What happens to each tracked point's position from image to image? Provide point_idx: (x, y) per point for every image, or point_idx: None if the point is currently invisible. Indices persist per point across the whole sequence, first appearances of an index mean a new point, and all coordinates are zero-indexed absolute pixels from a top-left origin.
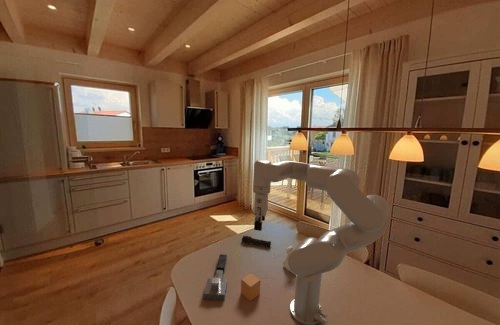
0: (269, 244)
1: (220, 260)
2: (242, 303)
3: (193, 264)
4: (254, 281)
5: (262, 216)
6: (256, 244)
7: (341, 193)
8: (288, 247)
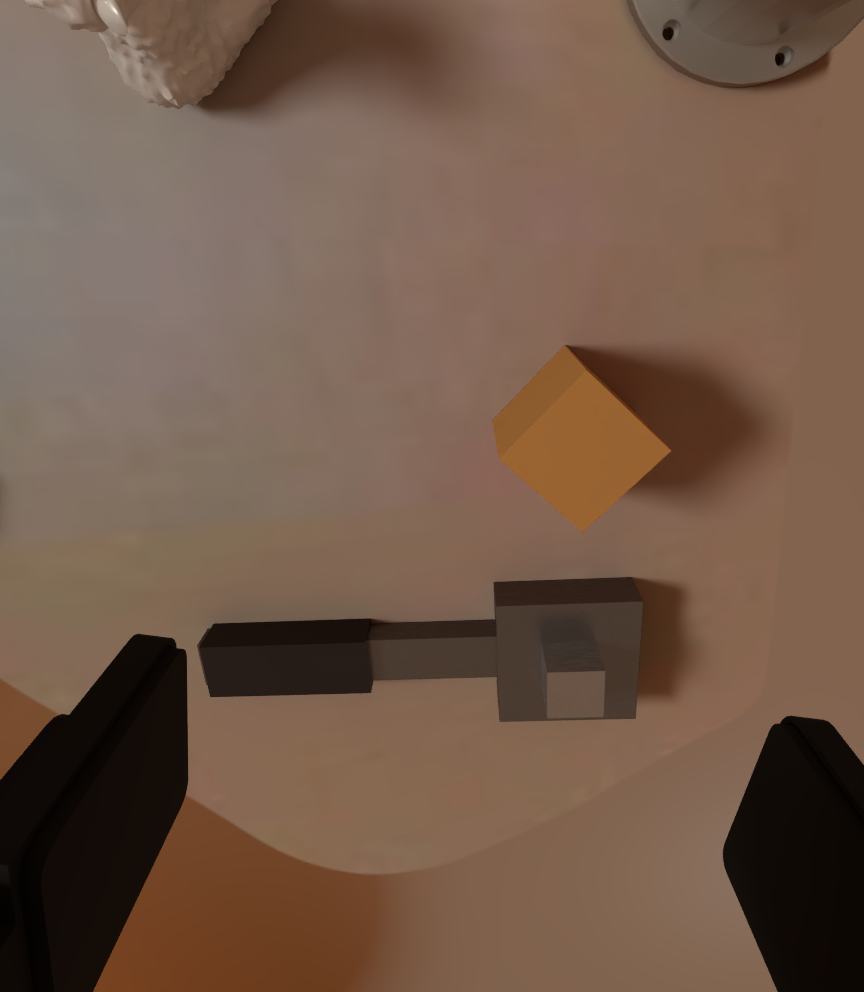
0: None
1: (285, 679)
2: None
3: (323, 807)
4: (607, 422)
5: (127, 799)
6: None
7: None
8: None
